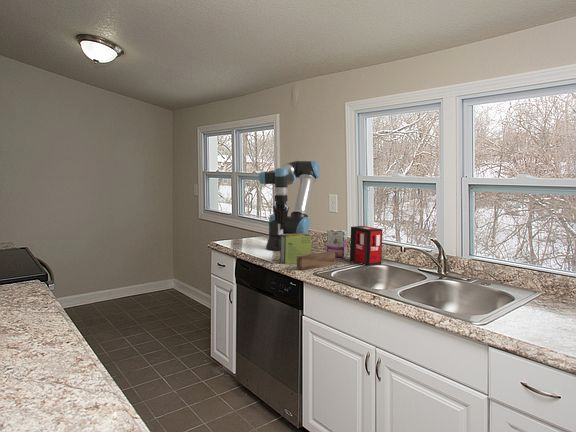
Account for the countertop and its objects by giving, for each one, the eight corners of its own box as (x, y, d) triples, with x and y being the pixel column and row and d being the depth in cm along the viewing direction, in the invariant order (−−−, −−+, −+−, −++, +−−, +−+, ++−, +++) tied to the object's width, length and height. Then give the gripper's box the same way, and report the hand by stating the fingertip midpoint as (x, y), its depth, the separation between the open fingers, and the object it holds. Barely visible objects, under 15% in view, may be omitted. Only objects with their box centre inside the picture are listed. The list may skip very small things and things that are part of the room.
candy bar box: (346, 257, 262) (347, 230, 260) (343, 258, 257) (344, 231, 256) (329, 255, 267) (330, 228, 266) (326, 256, 263) (326, 229, 261)
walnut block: (296, 269, 226) (296, 255, 226) (329, 263, 241) (329, 251, 241) (301, 270, 223) (301, 257, 223) (334, 264, 238) (335, 252, 238)
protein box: (311, 263, 243) (311, 235, 242) (284, 264, 239) (285, 236, 237) (305, 259, 253) (305, 233, 252) (279, 260, 249) (280, 233, 247)
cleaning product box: (349, 260, 251) (350, 226, 249) (361, 259, 255) (362, 225, 253) (368, 266, 237) (370, 230, 235) (381, 264, 241) (382, 229, 239)
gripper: (269, 194, 256) (268, 233, 258) (282, 195, 246) (282, 236, 248) (279, 194, 261) (278, 233, 263) (293, 195, 250) (292, 235, 252)
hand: (280, 234), depth 255 cm, fingers closed
